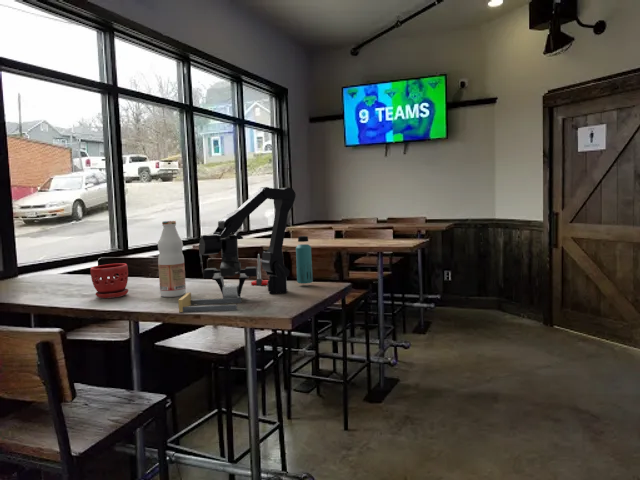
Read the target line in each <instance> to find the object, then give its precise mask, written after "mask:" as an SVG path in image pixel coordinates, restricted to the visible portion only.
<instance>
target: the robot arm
mask: <svg viewBox="0 0 640 480" xmlns="http://www.w3.org/2000/svg"><path fill="white" fill-rule="evenodd" d="M296 196H297V194H296V192H295V190H294V189H293V188H291V187H279V188H273V187H268V186H264V187H260V188H258V190H257V191H256V192H255V193H254V194H252V195H251V196H250V197H249V198H248V199H247V200H246V201H245V202H243V204H241V205H240V206H239V207H238V208H237V209H236V210H234V211H232V212H229V213H227V214H226V215H224V216H223V217H221V218H220V219H219V220H218V222H217V227H216V228H215V231H214V232H213V234H209V235H208V234H207V235H206V234H201V235H200V240H199V243H198V250H199V251H198V252H199V253H200V255H201V256H209V255H217V254H219V253H220V252H221V263H220V266H219V269H217V268H216V267H210V268H209V267H207V268H205V269H204V270H203V271H202V279H212V281H215V282H216V284H218V287H219V289H220V292H221V294H222V295H223V289H222V287H223V286H224V285H225V281H224V280H225V279H224V277H234V276H235V275H238V276H239V277H238V281H239V282H238V284H239V296H240V297H241V295H242V291H243V287H244V284H245V281H246V280H247V279H249V278H250V277H257V275H258V266H246V267H245V268H244V269H243V268H242V264H241V261H239V248H238V247H239V245H238V240H244V237H243V236H242V235H241V234H240V232H238V231H239V230H240V229H241V227H242V226H243V224H244V223H245V220H246V219H247V217H249V216H250V215H251V214H252V213H253V212H254V211H255V210H257V209H258V208H259V207H260V206H261V205H262V204H263V203H265V201H266V200H268V199H269V200H273V205H274V209H275V211H274V212H275V213H274V217H273V218H274V219H273V224H272V229H271V236H270V241H269V247H268V249H267V250H266V251H262V256H261V259H260V263H261V268H262V269H263V271H265V274H266V276H268V277H269V279H267V280H268V284H267V291H268V292H269V294H270V295H273V294H287V293H288V282H287V277H290V273H291V270H290V269H289V268H288V267H286V266H285V262H284V261H285V257H284V253H283V245H284V239H285V234H286V228H287V222H288V217H289V213H290V211H291V209H292V208H293V206H294V204H295V200H296V199H297V198H296Z"/></svg>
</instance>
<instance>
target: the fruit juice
mask: <svg viewBox="0 0 640 480" xmlns="http://www.w3.org/2000/svg"><path fill="white" fill-rule="evenodd" d="M161 224H162V226H163V228H162V231H161V234H160V238H159V239H158V242H157V249H158V252H159V254H158V257H157V260H158V261H157V265H158V279H159V282H158V283H159V294H160V296H161V297H163V298H173V297H182V296H184V295H185V294H186V293H187V288H186V286H187V285H186V270H185V268H186V267H185V256H184V254H183V247H184V244H183V243H184V242H183V239H182V238H181V237H180V235H179V233H178V231H177V228H176V226H177V222H176V220H165V221H162V223H161Z"/></svg>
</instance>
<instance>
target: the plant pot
mask: <svg viewBox="0 0 640 480" xmlns="http://www.w3.org/2000/svg"><path fill="white" fill-rule="evenodd" d="M89 272H90V276H91V282H92V284H93V287H94V289H95V290H96V292H95V296H96V297H97V298H99V299H115V298H120V297H123V296H125V295H127V294H128V292H129V289H128V288H126V287H127V285H128V281H129V279H128V278H129V268H128V264H127V263H123V262H122V263H121V262H120V263H108V264H101V265H96V266H92V267H90V270H89ZM117 274H118V275H117Z"/></svg>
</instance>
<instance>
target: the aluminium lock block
mask: <svg viewBox="0 0 640 480" xmlns="http://www.w3.org/2000/svg"><path fill="white" fill-rule="evenodd" d="M222 289H223V294H222V299H223V298H241V295H240V296H239V283H226V284H225V283H224V286H223V287H222Z"/></svg>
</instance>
